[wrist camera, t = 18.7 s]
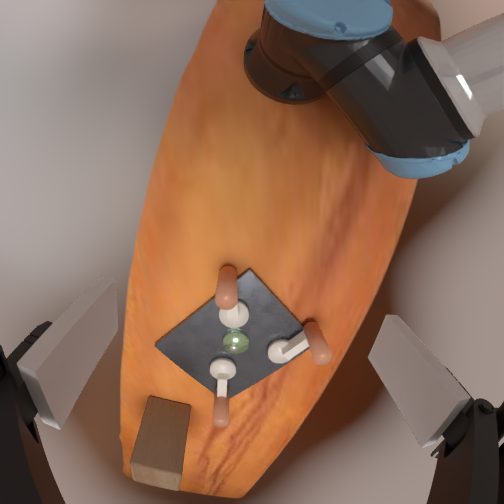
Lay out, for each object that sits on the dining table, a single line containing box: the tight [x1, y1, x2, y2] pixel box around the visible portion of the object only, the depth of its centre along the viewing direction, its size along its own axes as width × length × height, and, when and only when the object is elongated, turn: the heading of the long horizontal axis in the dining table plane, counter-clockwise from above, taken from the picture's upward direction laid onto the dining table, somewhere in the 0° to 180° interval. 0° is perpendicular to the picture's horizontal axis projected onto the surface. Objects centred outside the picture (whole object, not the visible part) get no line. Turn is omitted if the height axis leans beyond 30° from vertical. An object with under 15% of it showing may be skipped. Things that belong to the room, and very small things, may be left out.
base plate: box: [154, 268, 309, 398], centre depth 50 cm, size 24×20×2 cm
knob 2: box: [210, 358, 236, 427], centre depth 47 cm, size 11×5×9 cm, turn 175°
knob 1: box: [215, 266, 249, 328], centre depth 42 cm, size 11×5×9 cm, turn 7°
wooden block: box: [130, 396, 191, 491], centre depth 47 cm, size 10×10×20 cm
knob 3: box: [267, 321, 333, 365], centre depth 45 cm, size 11×5×9 cm, turn 130°
